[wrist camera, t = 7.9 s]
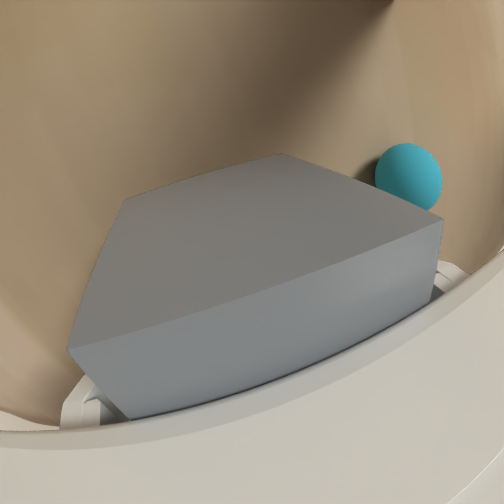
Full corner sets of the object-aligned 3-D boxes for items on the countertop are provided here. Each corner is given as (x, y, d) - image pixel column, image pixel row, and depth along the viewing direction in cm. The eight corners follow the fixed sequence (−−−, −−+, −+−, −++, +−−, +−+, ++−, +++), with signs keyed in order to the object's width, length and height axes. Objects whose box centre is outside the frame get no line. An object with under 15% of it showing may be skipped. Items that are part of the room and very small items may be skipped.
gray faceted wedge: (281, 153, 12) (444, 218, 5) (300, 282, 16) (395, 401, 8) (125, 199, 11) (66, 349, 3) (177, 324, 15) (206, 479, 7)
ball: (406, 136, 18) (456, 148, 14) (407, 195, 20) (452, 216, 16) (358, 142, 17) (410, 155, 13) (362, 208, 20) (407, 235, 15)
